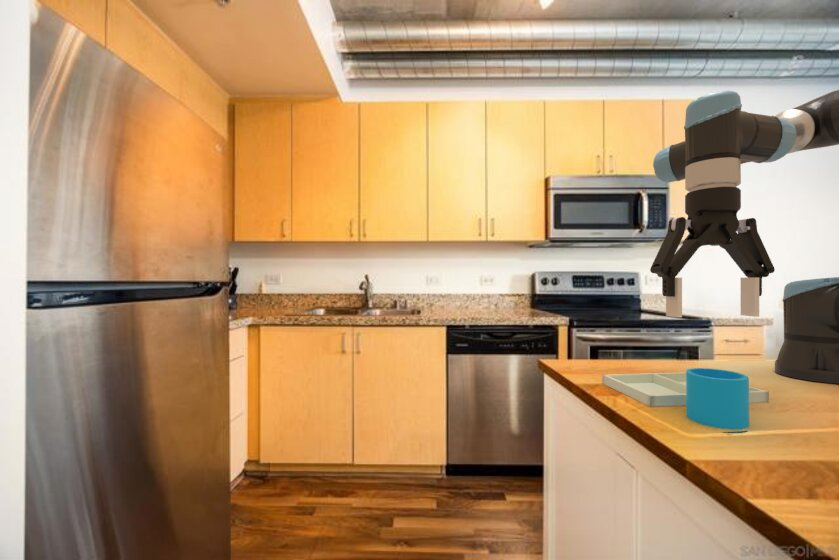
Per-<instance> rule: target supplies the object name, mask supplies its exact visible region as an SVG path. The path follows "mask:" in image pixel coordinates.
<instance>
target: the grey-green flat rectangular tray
mask: <svg viewBox="0 0 839 560" xmlns="http://www.w3.org/2000/svg"><path fill="white" fill-rule="evenodd" d="M601 377H602V379H601V380H602V384H603V385H604V386H607V387H609V388H610V389H613V390H615V391H617V392H619V393H621V394H623V395H626V396H627V397H629V398H632V399H633V400H636V401H638V402H639V403H641V404H644V405H646V406H649V407H650V408H651V407H653V408H656V407H679V406H680V407H681V406H683V407H684V406H685V407H687V403H686V371H682V372H681V371H680V372H679V371H678V372H650V373H648V372H647V373H621V374H619V373H616V374H615V373H613V374H612V373H611V374H602V375H601ZM769 393H770V392H769V391H767V390H763V389H760V388H757V387H753V386H750V385H749V404H760V403H769V401H770V400H769V399H770V394H769Z"/></svg>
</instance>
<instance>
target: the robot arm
mask: <svg viewBox="0 0 839 560" xmlns="http://www.w3.org/2000/svg"><path fill="white" fill-rule="evenodd" d="M741 101H742V100H741V96H740V94H739V93H738V92H736V91H734V90H720V91H715V92H714V91H713V92H711V93H707V94H705V95H701V96H699V97H697V98H696V99H693V101H691V102H689V104H687V106H686V109H685V121H684V126H683V130H684V141H681V142H677V143H675V144H671V145H669V146H668V147H665V148H663V149H660V150H659V151H658V152H657V153H656V154H655V156H654V159H653V164H652V166H653V170H654V174H655V176H656V177H657V178H658V179H659V180H660V181H661V182H664V183H673V182H680V181H682V180H684V185H685V187H684V190H685V191H687V193H686V195H685V196H684V212H685V215H687V219H686V217H684V216H680V217H676V218H671V219H669V221H668V225H667V233H666V235H665V237H664V239H663V241H662V243H661V245H660V247H659V250H658V251H657V254H656V256H655V258H654V260H653V262H652V265H651V267H650V269H649V270H650V273H652V274H656V275H657V277H658V278H662V279H661V280H662V282H661V284H662V285H661V287H662V288H661V290H662V291H661V293H662V296H663V297H665V317H670V318H671V317H672V318H682V317H683V277H677V276H678V275H679V274H680V272H681V271H682V269H683V268H684V267H685V266H686V264H687V263H688V262H689V261H690V259H692V257H694V254H695V253H697V251H698V250H699V248H701V247H703V246H705V247H706V246H712V247H714V246H716V247H717V246H719V247H720V248H721V249H724V250H725V252H726V253H727V254H728V255H729V257H730V258H731V259H732V261H734V263H735V264H736V265H737V266H738V268H739V269H740V271H741V272H742V273H743V275H744V276H745V277H740V316H743V317H744V316H745V317H754V318H758V317H760V297H762V294H763V290H762V289H763V278H767V277H769V276H770V274H773V273H774V272H775V267H774V264H773V262H772V259H771V258H770V256H769V254H768V251H767V249H766V247H765V245H764V242H763V241H762V238H761V236H760V234H759V232H758V225H757V220H756V218H754V217H751V218H745V219H738V216H737V213H738V212H739V211H740V210H741V207H742V199H741V198H742V190H741V189H740V188H739V187H738V186H740V185H741V184H742V179H741V177H742V175H741V172H742V171H741V170H742V169H741V167H742V165H743V164H747V163H756V164H763V163H772V162H775V161H778V160H780V159H783V158H784V157H785V156H786V155H788V154H793V153H797V152H801V151H807V150H813V149H821V148H828V147H833V146H838V145H839V89H837V90H834V91H831V92H828V93H826V94H823V95H821V96H818V97H816V98H814V99H812V100H811V99H810V100H809V101H807V102H806V103H803V104H801V105H798V106H796V107H793V108H791V109H787V110H784V111H781V112H779V113H778V114H776V115H766V114H765V115H764V114H760V113H758V114H757V113H752V112H748V111H745V110H742V108H743V107H742V106H743V104H742V102H741ZM686 230H687V232H688V235H687V236H686V237H685V238H684V239H683V237H684V235H685V232H686ZM682 239H683V241H682ZM681 241H682V244H681V246H680V243H681ZM679 246H680V247H679ZM782 303H783V304H782V305H783V306H782V307H783V342H782V346H781V348H780V350H779V351H778V356H777V359H776V360H775V361H774V372H775V373H777V374H778V375H781V376H785V377H789V378H794V379H798V380H803V381H810V382H811V381H812V382H817V383H818V382H819V383H824V384H825V383H826V384H828V383H829V384H839V276H838V277H837V276H836V277H825V278H823V277H822V278H811V279H810V278H809V279H803V280H794V281H791V282H789V283H787V284H785V286H784V289H783V298H782Z"/></svg>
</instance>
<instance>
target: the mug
mask: <svg viewBox="0 0 839 560" xmlns="http://www.w3.org/2000/svg"><path fill="white" fill-rule="evenodd" d="M708 368H709V367H707V368H700V367H698V368H697V367H696V368H695V367H693V368H688V369H686V371H685V372H686V403H687V405H686V418H688V419H689V420H690V421H693V422H694V423H697V424H701V425H703V426H708V427H712V428H717V429H723V430H734V431H723V432H722V433H723V434H725V433H726V434H744V433H748V430H744V431H743V429H747V428H749V427H750V403H749V386H750V383H749V382H750V378H749V376H748V375H746V374H743V373H740V372H735V371H731V370H726V369H725V370H724V369H719V368H710V369H708ZM735 430H737V431H735ZM738 430H739V431H738Z"/></svg>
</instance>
